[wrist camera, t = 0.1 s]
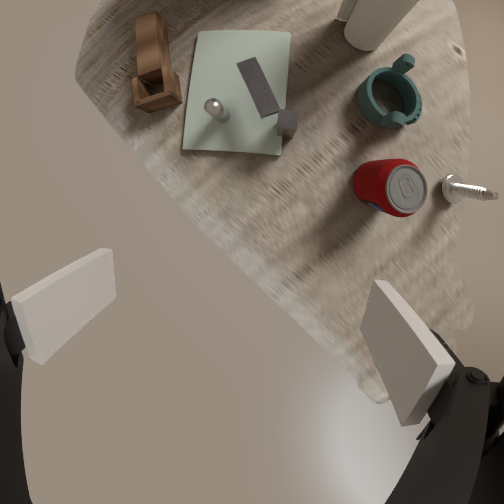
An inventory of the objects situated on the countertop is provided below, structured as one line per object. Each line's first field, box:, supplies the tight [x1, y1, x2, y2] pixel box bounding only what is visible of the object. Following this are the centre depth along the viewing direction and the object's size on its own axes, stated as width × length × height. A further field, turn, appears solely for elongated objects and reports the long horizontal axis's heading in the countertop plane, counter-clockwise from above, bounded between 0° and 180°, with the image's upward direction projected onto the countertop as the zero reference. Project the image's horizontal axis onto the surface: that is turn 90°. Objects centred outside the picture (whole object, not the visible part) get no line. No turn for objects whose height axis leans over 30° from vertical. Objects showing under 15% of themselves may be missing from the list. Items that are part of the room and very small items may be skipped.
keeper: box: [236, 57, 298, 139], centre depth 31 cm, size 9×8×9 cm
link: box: [132, 11, 182, 113], centre depth 32 cm, size 17×6×5 cm, turn 10°
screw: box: [441, 173, 498, 204], centre depth 29 cm, size 13×5×5 cm
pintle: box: [204, 98, 230, 123], centre depth 32 cm, size 2×2×7 cm
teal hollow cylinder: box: [357, 54, 422, 130], centre depth 29 cm, size 9×9×9 cm
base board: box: [183, 30, 291, 156], centre depth 34 cm, size 20×14×1 cm
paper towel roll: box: [336, 0, 419, 51], centre depth 20 cm, size 7×6×21 cm
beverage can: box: [353, 159, 427, 217], centre depth 31 cm, size 7×7×12 cm
